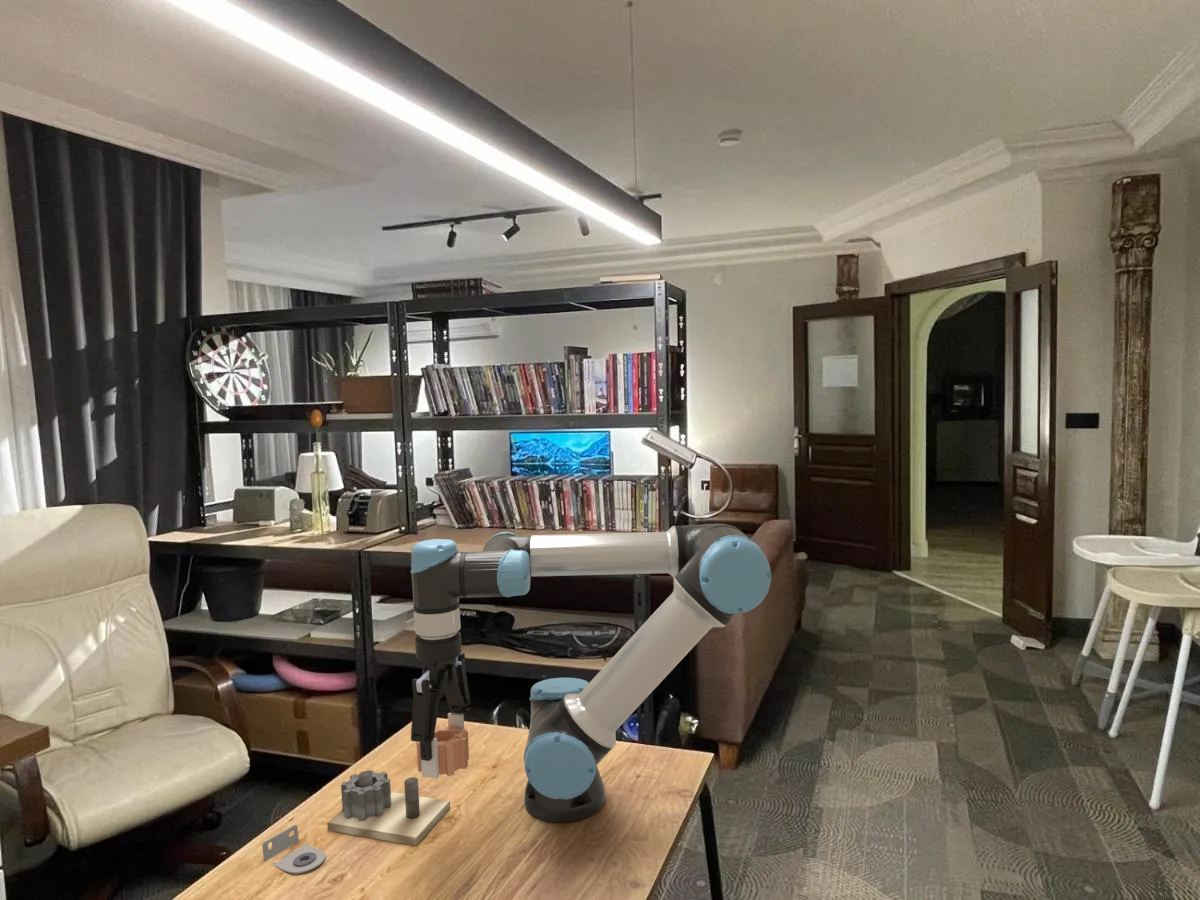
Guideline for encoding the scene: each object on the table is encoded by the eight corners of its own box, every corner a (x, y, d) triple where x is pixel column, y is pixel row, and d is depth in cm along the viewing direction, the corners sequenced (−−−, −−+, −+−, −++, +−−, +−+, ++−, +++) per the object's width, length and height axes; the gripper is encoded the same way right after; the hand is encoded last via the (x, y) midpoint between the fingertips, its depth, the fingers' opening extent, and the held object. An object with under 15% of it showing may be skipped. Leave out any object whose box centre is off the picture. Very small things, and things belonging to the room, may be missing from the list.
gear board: (450, 808, 144) (448, 767, 143) (416, 845, 132) (414, 801, 132) (367, 795, 149) (364, 756, 148) (327, 830, 138) (325, 787, 137)
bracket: (300, 882, 124) (299, 861, 124) (263, 862, 129) (261, 843, 129) (334, 860, 129) (333, 840, 129) (297, 842, 135) (296, 823, 135)
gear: (470, 750, 135) (469, 723, 134) (466, 775, 126) (465, 745, 126) (422, 753, 134) (420, 726, 134) (414, 778, 126) (413, 749, 125)
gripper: (448, 612, 140) (454, 732, 141) (382, 653, 119) (390, 792, 121) (486, 615, 137) (491, 736, 139) (424, 656, 117) (432, 798, 119)
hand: (444, 762), depth 130 cm, fingers closed on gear, 9 cm apart
